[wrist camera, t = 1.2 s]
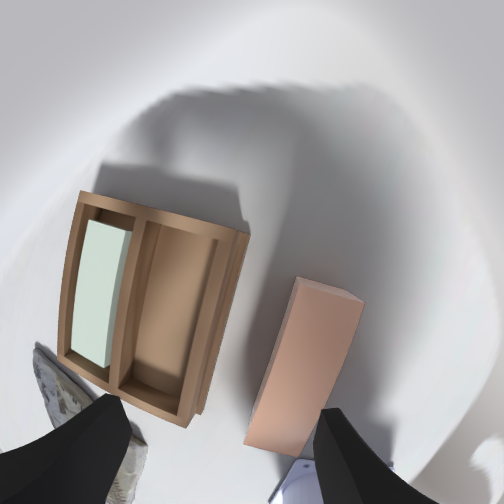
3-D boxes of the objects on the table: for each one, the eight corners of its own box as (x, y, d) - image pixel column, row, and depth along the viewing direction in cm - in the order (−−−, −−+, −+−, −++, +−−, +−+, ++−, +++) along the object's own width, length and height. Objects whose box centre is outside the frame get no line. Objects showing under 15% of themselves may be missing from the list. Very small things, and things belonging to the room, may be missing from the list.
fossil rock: (135, 506, 21) (127, 517, 18) (44, 443, 23) (34, 450, 20) (157, 425, 20) (145, 440, 17) (40, 345, 22) (25, 350, 19)
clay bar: (345, 289, 18) (365, 303, 13) (297, 415, 18) (298, 457, 13) (296, 275, 18) (299, 284, 13) (253, 404, 18) (243, 444, 13)
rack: (250, 234, 18) (243, 231, 15) (203, 409, 19) (191, 430, 16) (100, 196, 20) (76, 189, 17) (75, 348, 20) (54, 358, 17)
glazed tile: (140, 232, 18) (125, 230, 16) (118, 359, 19) (103, 368, 17) (105, 221, 19) (88, 219, 17) (86, 342, 19) (71, 348, 17)
